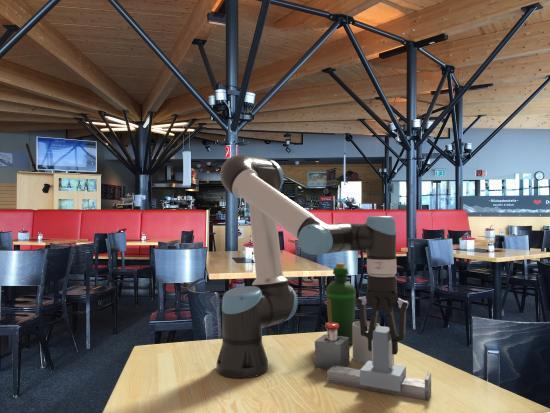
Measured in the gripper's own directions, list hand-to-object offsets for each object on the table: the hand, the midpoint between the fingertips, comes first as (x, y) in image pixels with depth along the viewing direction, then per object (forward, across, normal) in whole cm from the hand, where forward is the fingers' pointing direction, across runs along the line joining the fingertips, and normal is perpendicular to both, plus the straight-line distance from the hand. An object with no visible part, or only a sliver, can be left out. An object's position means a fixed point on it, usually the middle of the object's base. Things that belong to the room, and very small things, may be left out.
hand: (383, 364), depth 112 cm
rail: (+6, -2, 0) cm, 6 cm away
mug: (+6, -10, +22) cm, 25 cm away
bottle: (+6, -22, +33) cm, 41 cm away
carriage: (+5, 0, 0) cm, 5 cm away
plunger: (+3, -17, +10) cm, 20 cm away
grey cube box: (+6, -18, +10) cm, 21 cm away
